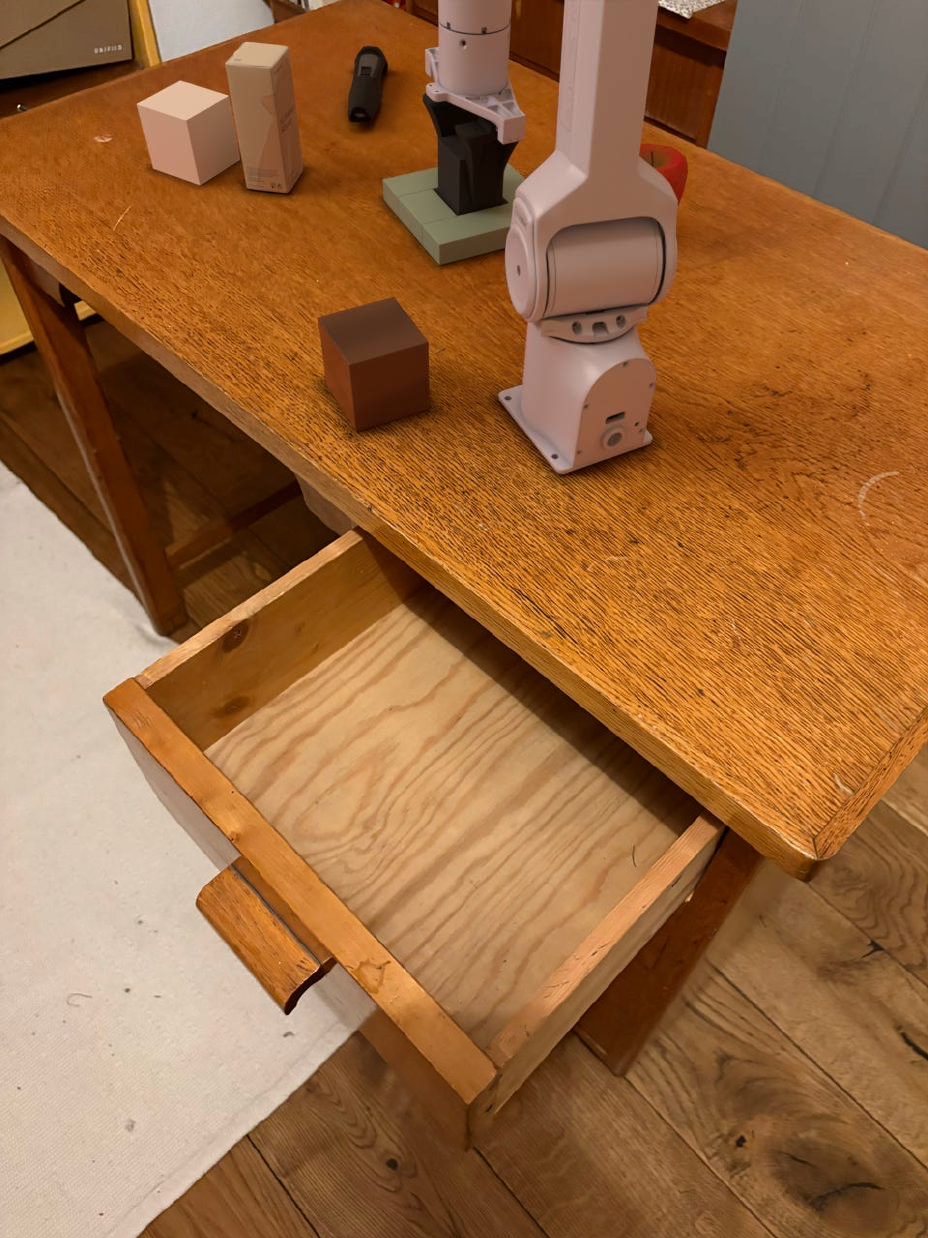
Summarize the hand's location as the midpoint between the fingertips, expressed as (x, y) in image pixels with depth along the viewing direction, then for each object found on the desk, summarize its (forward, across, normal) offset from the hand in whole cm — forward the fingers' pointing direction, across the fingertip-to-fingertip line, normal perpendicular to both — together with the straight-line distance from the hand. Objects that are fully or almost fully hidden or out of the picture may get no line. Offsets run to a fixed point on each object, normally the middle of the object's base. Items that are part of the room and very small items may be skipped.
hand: (470, 189), depth 82 cm
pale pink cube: (+3, -20, -20) cm, 28 cm away
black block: (+1, 0, 0) cm, 1 cm away
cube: (+3, +20, -18) cm, 27 cm away
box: (+3, -14, -14) cm, 20 cm away
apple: (-2, +9, +12) cm, 16 cm away
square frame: (+3, 0, 0) cm, 3 cm away
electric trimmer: (+3, -26, +1) cm, 26 cm away
